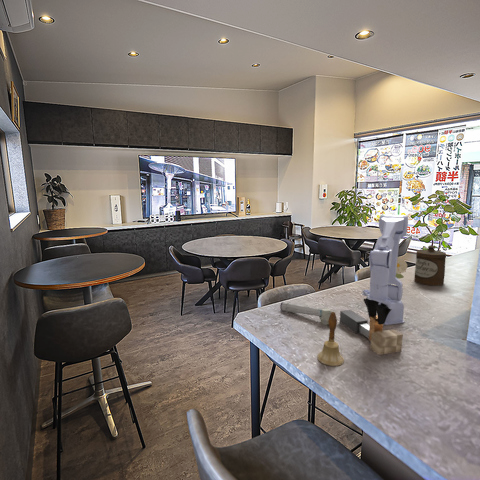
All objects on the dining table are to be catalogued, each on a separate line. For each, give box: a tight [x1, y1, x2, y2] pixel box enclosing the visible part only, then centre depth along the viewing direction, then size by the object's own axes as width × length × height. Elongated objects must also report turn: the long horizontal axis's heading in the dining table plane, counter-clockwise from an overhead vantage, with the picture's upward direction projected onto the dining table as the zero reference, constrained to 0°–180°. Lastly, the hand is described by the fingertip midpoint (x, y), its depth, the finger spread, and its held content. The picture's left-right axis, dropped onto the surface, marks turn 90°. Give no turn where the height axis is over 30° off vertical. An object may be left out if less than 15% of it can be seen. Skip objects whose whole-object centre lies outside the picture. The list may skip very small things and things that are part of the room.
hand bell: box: [316, 311, 345, 367], centre depth 95 cm, size 8×8×16 cm
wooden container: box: [414, 244, 447, 287], centre depth 175 cm, size 15×15×22 cm
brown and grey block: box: [358, 315, 384, 342], centre depth 108 cm, size 4×16×9 cm, turn 14°
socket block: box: [370, 328, 404, 356], centre depth 101 cm, size 9×4×6 cm, turn 104°
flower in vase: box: [389, 256, 408, 285], centre depth 134 cm, size 13×11×25 cm
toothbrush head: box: [279, 301, 333, 326], centre depth 129 cm, size 5×7×25 cm
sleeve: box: [339, 309, 369, 335], centre depth 119 cm, size 5×11×5 cm, turn 14°
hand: (376, 321), depth 105 cm, fingers open, 4 cm apart
